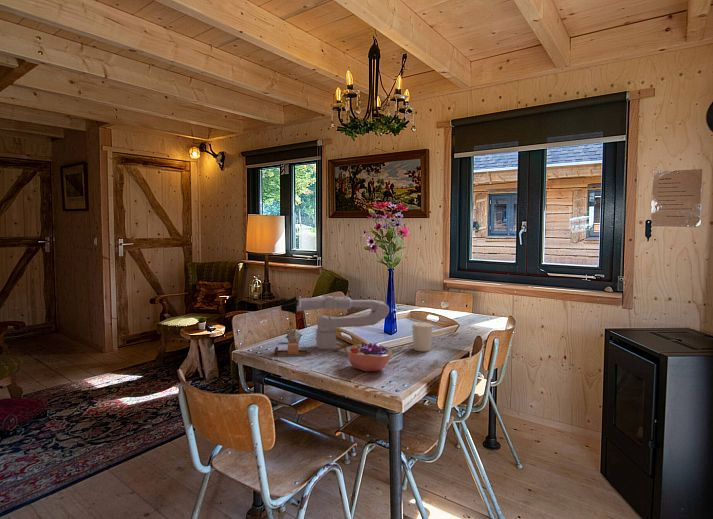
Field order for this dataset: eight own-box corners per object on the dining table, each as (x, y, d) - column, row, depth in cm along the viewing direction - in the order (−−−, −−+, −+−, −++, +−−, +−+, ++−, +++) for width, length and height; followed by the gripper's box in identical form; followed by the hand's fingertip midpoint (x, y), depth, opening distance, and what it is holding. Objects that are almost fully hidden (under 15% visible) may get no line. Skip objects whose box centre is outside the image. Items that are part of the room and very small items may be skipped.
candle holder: (407, 349, 207) (407, 324, 206) (419, 345, 214) (419, 321, 213) (424, 353, 200) (425, 327, 200) (436, 348, 208) (436, 324, 207)
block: (298, 352, 197) (298, 342, 197) (297, 355, 193) (297, 345, 192) (288, 352, 197) (288, 342, 197) (287, 355, 192) (287, 345, 192)
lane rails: (306, 353, 199) (306, 349, 199) (306, 358, 191) (306, 354, 191) (276, 354, 198) (276, 350, 198) (274, 359, 190) (274, 355, 190)
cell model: (359, 360, 190) (359, 334, 189) (399, 368, 178) (400, 341, 178) (336, 370, 176) (336, 343, 175) (378, 380, 164) (378, 351, 164)
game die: (296, 351, 215) (298, 339, 209) (281, 345, 216) (283, 332, 210) (304, 339, 222) (306, 327, 215) (289, 333, 223) (291, 320, 217)
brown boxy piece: (311, 353, 198) (311, 346, 198) (310, 357, 193) (310, 349, 192) (275, 354, 197) (275, 346, 197) (274, 358, 191) (274, 350, 191)
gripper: (309, 291, 211) (281, 293, 209) (310, 299, 196) (280, 301, 195) (310, 305, 212) (282, 307, 210) (311, 314, 198) (281, 316, 196)
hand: (281, 305), depth 203 cm, fingers open, 7 cm apart
